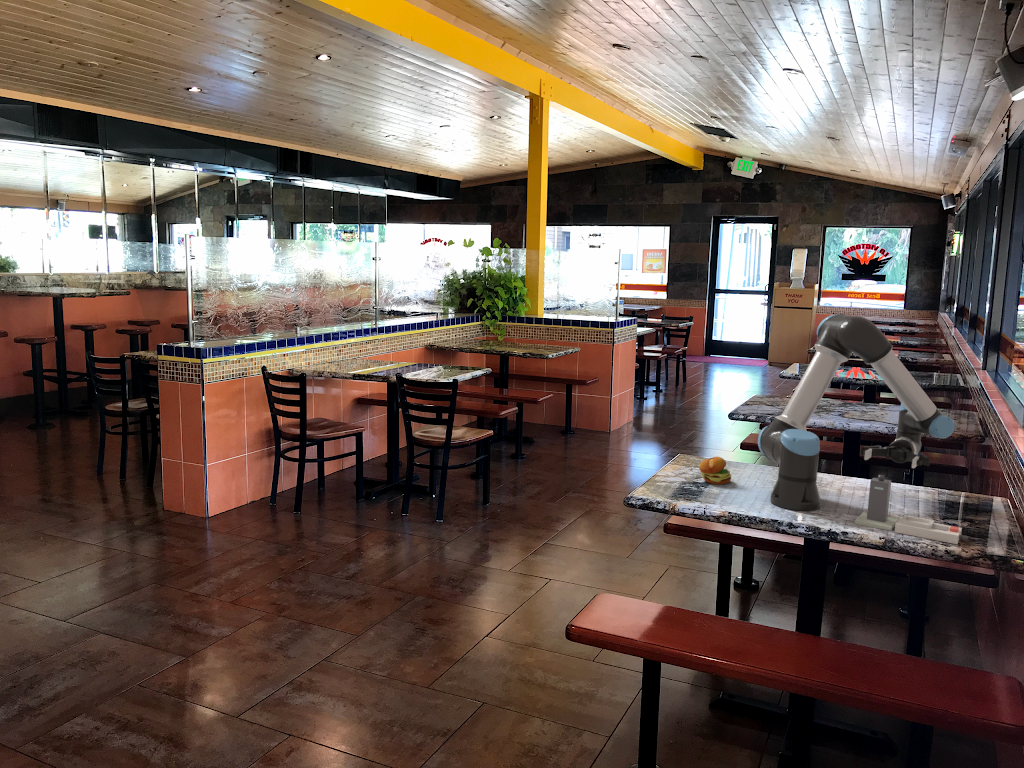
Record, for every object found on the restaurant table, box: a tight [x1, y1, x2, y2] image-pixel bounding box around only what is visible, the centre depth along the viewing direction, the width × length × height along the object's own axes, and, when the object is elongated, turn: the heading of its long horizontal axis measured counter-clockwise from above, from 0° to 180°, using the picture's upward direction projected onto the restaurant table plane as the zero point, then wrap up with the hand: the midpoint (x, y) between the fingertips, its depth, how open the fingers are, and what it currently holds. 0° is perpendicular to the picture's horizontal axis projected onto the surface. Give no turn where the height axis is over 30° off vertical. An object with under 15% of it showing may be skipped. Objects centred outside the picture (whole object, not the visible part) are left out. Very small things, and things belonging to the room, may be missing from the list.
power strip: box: [894, 514, 969, 545], centre depth 227 cm, size 18×9×4 cm, turn 55°
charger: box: [866, 474, 892, 522], centre depth 236 cm, size 5×4×14 cm
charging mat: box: [854, 511, 900, 531], centre depth 237 cm, size 10×12×1 cm
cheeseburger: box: [699, 456, 732, 485], centre depth 279 cm, size 10×11×10 cm
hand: (889, 459), depth 245 cm, fingers open, 13 cm apart
